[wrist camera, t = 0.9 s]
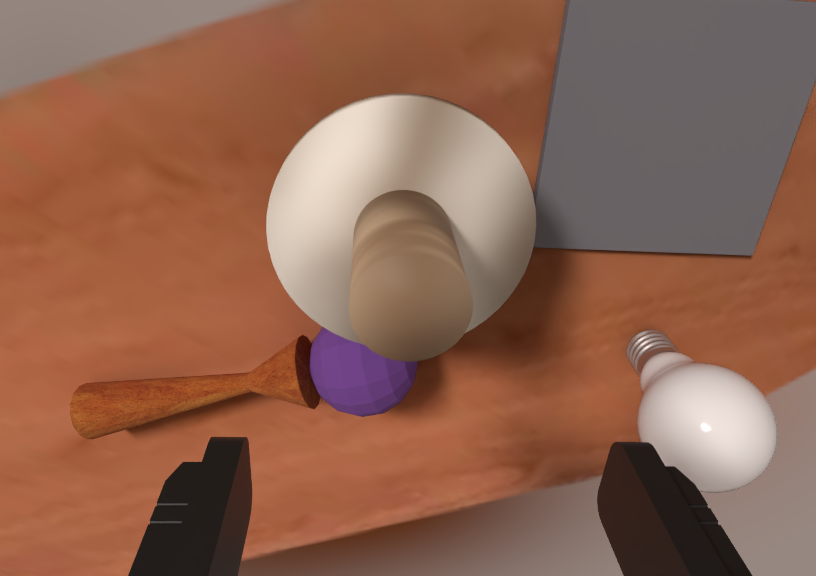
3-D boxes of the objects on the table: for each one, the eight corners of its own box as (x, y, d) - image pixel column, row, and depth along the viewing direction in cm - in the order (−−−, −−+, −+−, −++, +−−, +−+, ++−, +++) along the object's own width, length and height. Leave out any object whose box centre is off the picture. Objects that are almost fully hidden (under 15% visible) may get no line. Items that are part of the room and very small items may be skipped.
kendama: (37, 391, 33) (399, 323, 30) (98, 345, 38) (407, 285, 36) (79, 483, 34) (424, 427, 32) (132, 427, 40) (428, 375, 37)
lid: (551, 101, 24) (614, 149, 17) (510, 340, 29) (548, 442, 23) (263, 85, 23) (223, 130, 17) (275, 333, 28) (247, 439, 22)
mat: (834, 3, 29) (843, 4, 28) (746, 251, 35) (752, 255, 35) (569, -16, 28) (572, -15, 28) (525, 242, 34) (528, 247, 34)
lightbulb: (600, 299, 36) (683, 422, 26) (704, 295, 36) (825, 415, 27) (586, 385, 39) (657, 524, 29) (683, 381, 39) (784, 517, 30)
